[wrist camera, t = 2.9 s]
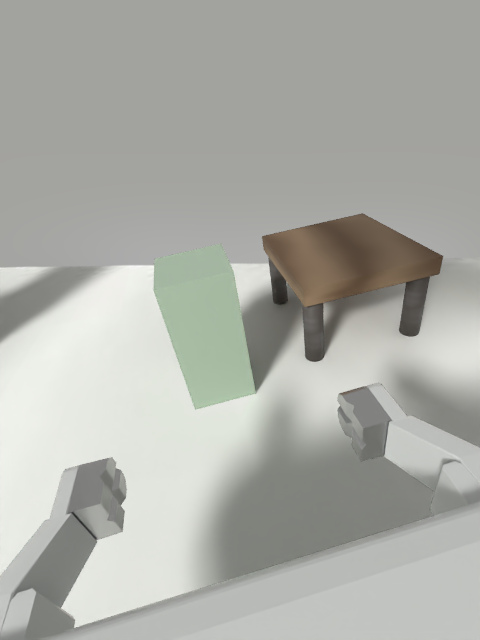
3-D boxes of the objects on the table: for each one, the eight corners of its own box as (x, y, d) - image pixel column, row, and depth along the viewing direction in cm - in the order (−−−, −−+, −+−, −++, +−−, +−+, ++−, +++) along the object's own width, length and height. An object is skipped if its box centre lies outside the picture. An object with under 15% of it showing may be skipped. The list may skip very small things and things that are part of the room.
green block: (195, 409, 26) (153, 290, 20) (190, 368, 30) (154, 258, 24) (255, 393, 27) (233, 271, 20) (243, 354, 31) (221, 243, 24)
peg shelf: (307, 365, 28) (304, 290, 24) (269, 298, 38) (262, 236, 34) (426, 334, 29) (443, 256, 25) (359, 276, 39) (362, 213, 35)
